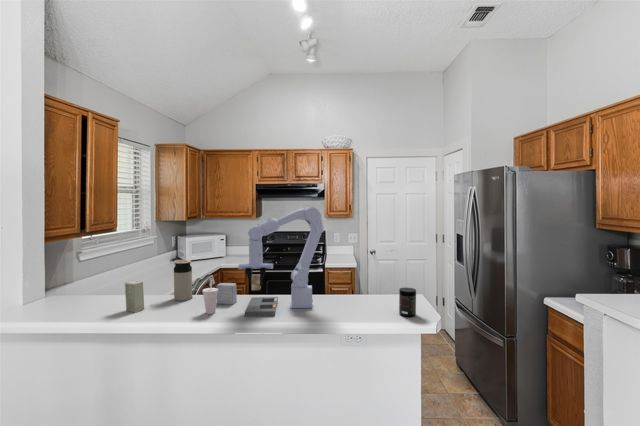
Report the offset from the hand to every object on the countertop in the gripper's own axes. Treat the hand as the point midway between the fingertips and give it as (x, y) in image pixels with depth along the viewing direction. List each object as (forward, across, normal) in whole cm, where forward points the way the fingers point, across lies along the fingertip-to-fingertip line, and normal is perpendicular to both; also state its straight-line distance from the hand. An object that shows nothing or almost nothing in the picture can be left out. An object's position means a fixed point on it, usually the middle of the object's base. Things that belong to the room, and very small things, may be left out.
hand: (256, 285), depth 149 cm
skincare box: (+10, -52, +1) cm, 52 cm away
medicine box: (+10, -15, +9) cm, 20 cm away
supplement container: (+11, +63, -11) cm, 64 cm away
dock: (+10, +2, 0) cm, 10 cm away
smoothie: (+10, -18, -4) cm, 22 cm away
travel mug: (+10, -37, +17) cm, 42 cm away
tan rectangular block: (+2, 0, 0) cm, 2 cm away
